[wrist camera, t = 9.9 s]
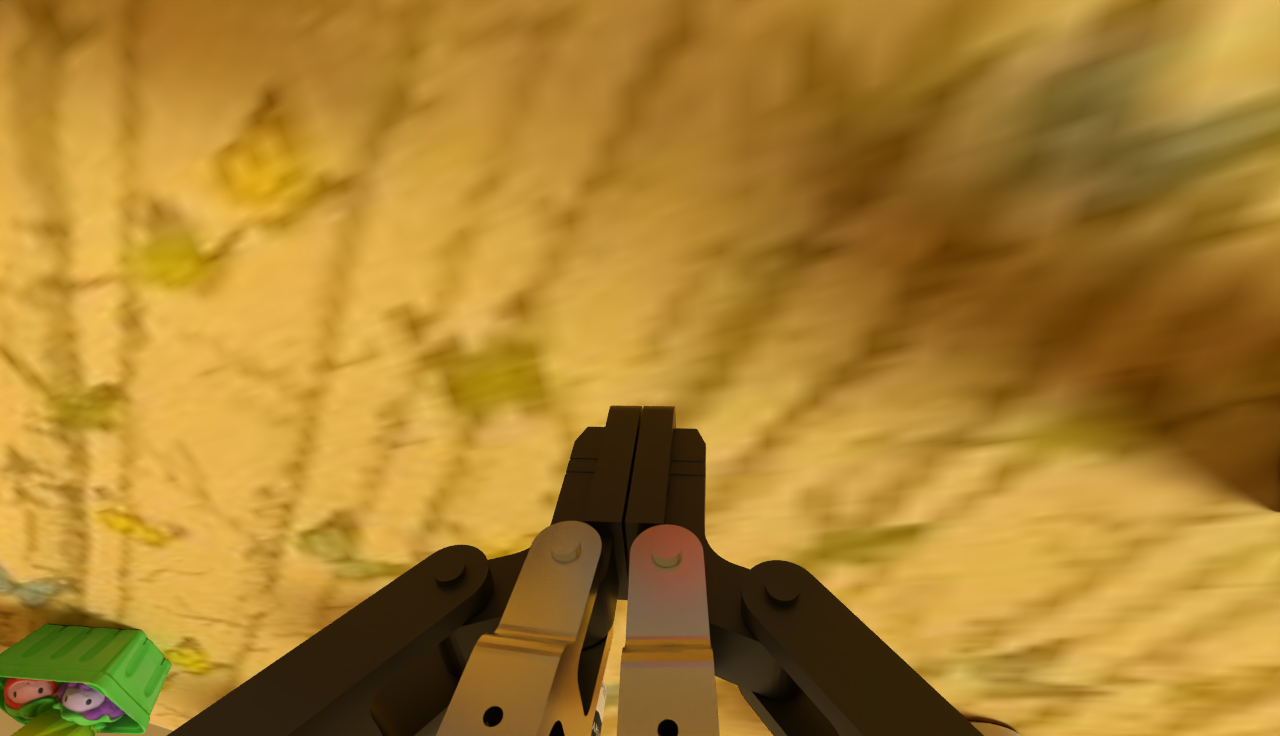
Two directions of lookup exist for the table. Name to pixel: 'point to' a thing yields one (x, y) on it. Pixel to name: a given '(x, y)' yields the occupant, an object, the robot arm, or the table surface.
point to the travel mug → (993, 729)
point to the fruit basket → (81, 681)
